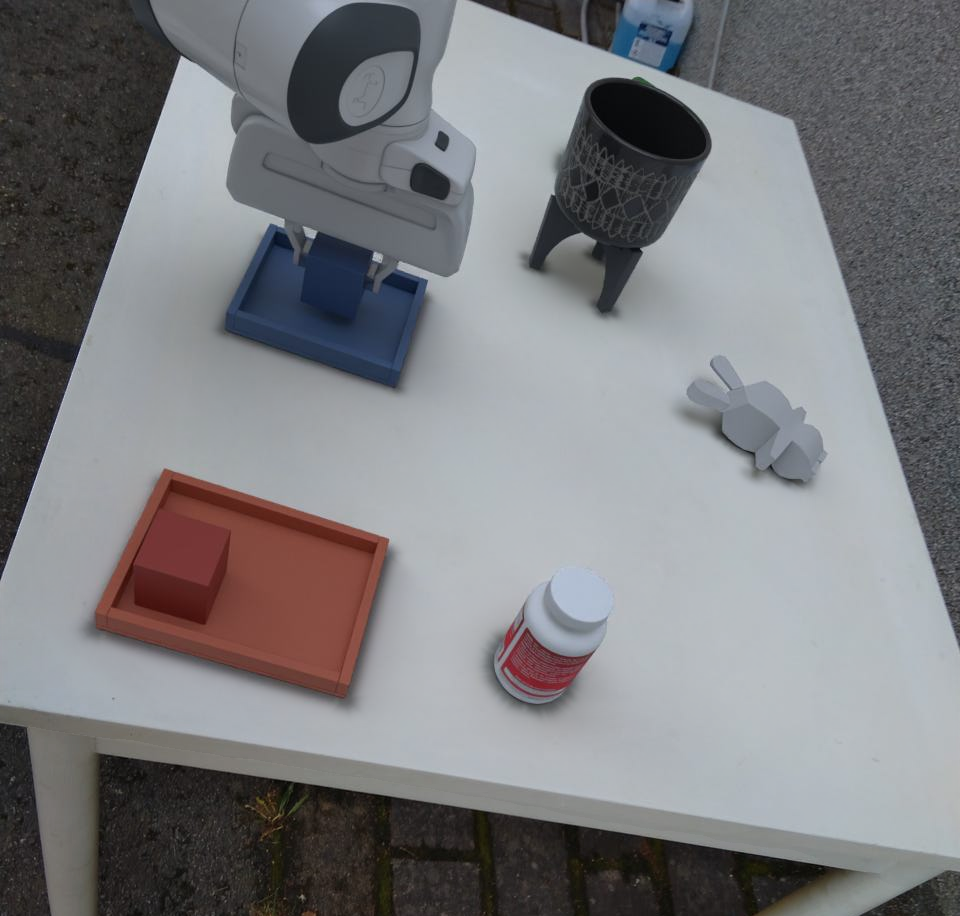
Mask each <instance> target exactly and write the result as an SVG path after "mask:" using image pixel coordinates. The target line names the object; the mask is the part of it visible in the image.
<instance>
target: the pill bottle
mask: <svg viewBox="0 0 960 916" xmlns="http://www.w3.org/2000/svg"><path fill="white" fill-rule="evenodd" d="M614 606H615V597H614V593H613V589H612V588H611V585H609V583H608V582H607V581H606V579H605V578H604V577H602V576H601V575H600V574H599V573H598V572H595V571H594V570H593V569H590V568H588V567H584V566H580V565H568V566H565V567H562V568H560V569H559V570H557V571H556V572H555V573H554V574H553V575H552V577H551V578H550V580H547V581H544V582H542V583H540V584H538V585H537V586H536V587H535V588H533V590H531V592H530V593H529V595H528V596H527V598H526V599H525V601H524V603H523V604H522V606H521V608H520V610H519V611H518V612H517V614H516V616H515V618H514V620H513V621H512V623H511V624H510V627H509V628H508V629H507V631H506V633H505V635H504V637H503V638H502V639H501V641H500V643H499V645H498V647H497V649H496V651H495V654H494V661H493V664H494V665H493V667H494V671H495V674H496V677H497V679H498V681H499V683H500V684H501V685H502V688H503V689H505V691H507V692H508V693H509V694H510V695H511V696H512V697H514V698H515V699H518V700H520V701H523V702H524V703H529V704H535V705H536V704H537V705H538V704H539V705H540V704H546V703H550V702H552V701H554V700H556V699H558V698H559V697H560V696H562V695H563V694H564V692H565V691H566V690H567V689H568V687H569V686H570V685H571V684H572V682H573V681H574V680H575V679H576V677H577V676H578V675H579V673H580V672H581V671H582V669H583V668H584V667H585V665H586V664H587V663H588V661H589V660H590V659H591V657H593V655H594V654H595V652H596V651H597V650H598V648H599V647H600V646H601V643H603V641H604V639H605V637H606V634H607V630H608V618H609V616H610V615H611V613H612V611H613V610H614Z"/></svg>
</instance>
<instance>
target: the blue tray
mask: <svg viewBox="0 0 960 916" xmlns="http://www.w3.org/2000/svg"><path fill="white" fill-rule="evenodd" d="M306 237H307V240H309V241H312V242H313V241H314V238H312V237H309V236H307V235H306ZM294 249H295V248H293V246H292V244H291V242H290V240H289V238H288V236H287V233H286V231H285V229H284V227H282V226H279V225H277V224H274V223H271V222H270V223H269V224H268V227H267V228H266V231H265V233H264V234H263V236H262V239H261V241H260V243H259V244H258V247H257V249H256V251H255V253H254V255H253V257H252V259H251V261H250V263H249V265H248V267H247V269H246V271H245V273H244V275H243V277H242V278H241V281H240V284H239V285H238V287H237V289H236V291H235V293H234V296H233V297H232V299H231V301H230V303H229V305H228V307H227V309H226V312H225V322H224V324H225V325H224V330H225V331H227V332H230V333H233V334H236V335H239V336H242V337H245V338H248V339H250V340H254V341H257V342H259V343H263V344H265V345H269V346H272V347H275V348H276V349H279V350H283V351H285V352H289V353H291V354H294V355H297V356H301V357H303V358H307V359H310V360H313V361H315V362H318V363H321V364H324V365H327V366H330V367H333V368H336V369H339V370H342V371H345V372H348V373H351V374H354V375H356V376H360V377H362V378H366V379H368V380H370V381H371V380H372V381H374V382H377V383H381V384H383V385H387V386H389V387H392V388H396V387H397V385H398V381H399V378H400V375H401V372H402V368H403V365H404V362H405V358H406V355H407V352H408V349H409V346H410V342H411V339H412V337H413V336H412V335H413V332H414V329H415V326H416V323H417V320H418V317H419V313H420V310H421V307H422V303H423V300H424V297H425V294H426V290H427V287H428V283H429V279H426V278H424V277H420V276H417V275H415V274H412V273H409V272H408V271H407V272H406V271H403V270H401V269H399V268H397V269H396V270H395V271H393V272H392V273H391V274H389V275H388V276H387V277H386V278H384V279H383V280H382V283H381V286H380V289H379V292H378V294H377V293H374V292H371V291H369V290H366V289H365V291H364V294H363V297H362V299H361V302H360V305H359V308H358V310H357V313H356V316H355V318H354V320H352V319H349V318H347V317H344V316H341V315H338V314H335V313H332V312H329V311H327V310H324V309H321V308H318V307H315V306H312V305H309V304H306V303H304V302H301V301H300V297H301V291H302V285H303V278H304V272H305V268H303V267H301V266H298V265H295V264H293V256H294ZM372 263H373V264H376V265H379V264H380V263H381V262H379V261H376V260H373V259H372Z"/></svg>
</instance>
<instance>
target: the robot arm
mask: <svg viewBox="0 0 960 916" xmlns="http://www.w3.org/2000/svg"><path fill="white" fill-rule="evenodd" d="M457 1H458V0H129V4H130V6H131V8H132V11H133V14H134V15H135V17H136V20H137V21H138V23H139V24H140V26H141V27H142V28H143V29H144V31H145V32H146V33H147V34H148V36H150V37H151V38H152V39H153V40H155V41H156V42H158V43H160V44H162V45H163V46H165V47H167V48H168V49H170V50H171V51H172V52H174V53H176V54H178V55H179V56H181V57H183V58H184V59H185V60H187V61H189V62H191V63H193V64H196V65H197V66H198V67H200V68H201V69H202V70H204V72H206V73H207V74H209V75H211V76H212V77H213V78H214V79H216V80H217V81H219V82H220V83H221V84H223V85H224V86H225V87H227V88H228V89H229V90H230V91H232V92H233V93H235V94H234V95H233V97H232V100H231V106H230V107H231V108H230V123H231V128H232V130H233V132H234V133H235V139H234V142H233V145H232V148H231V153H230V157H229V161H228V166H227V171H226V172H227V173H226V180H225V186H226V189H227V191H228V193H229V194H230V196H231V198H232V200H234V201H235V202H236V203H239V204H241V205H244V206H247V207H249V208H253V209H255V210H258V211H261V212H263V213H267V214H270V215H271V216H275V217H277V218H280V219H283V220H284V224H283V225H284V226H283V228H284V229H285V231H286V233H287V236H288V238H289V240H290V242H291V244H292V246H293V248H295V249H294V256H293V264H295V265H298V266H301V267H303V268H305V266H306V260H307V254H308V252H309V250H310V247H311V245H312V243H313V242H312V241H309V240H307V237H308V236H307V235H306V232H305V230H304V227H305V228H307V229H311V230H313V231H316V232H318V231H319V232H321V233H324V234H327V235H330V236H332V237H335V238H338V239H341V240H343V241H346V242H349V243H352V244H354V245H357V246H360V247H363V248H366V249H368V250H371V251H374V253H377V254H378V255H379V254H380V255H382V259H381V262H379V263H380V264H379V265H376V264H373V263H370V264H369V267H368V270H367V272H366V276H365V280H364V284H363V289H366V290H369V291H371V292H374V293H377V294H378V292H379V289H380V286H381V283H382V280H383V279H384V278H386V277H387V276H388V275H389V274H391V273H392V272H393V271H395V270H396V269H398V266H399V263H400V262H402V263H404V264H406V265H410V266H412V267H415V268H417V269H421V270H422V271H423V270H424V271H427V272H429V273H432V274H435V275H437V276H439V277H443V278H450V277H451V276H453V275H454V274H457V273H458V272H459V271H460V269H461V266H462V263H463V260H464V255H465V251H466V249H467V248H466V247H467V243H468V238H469V235H470V230H471V225H472V219H473V214H474V213H473V212H474V205H475V204H474V203H475V192H474V186H473V183H472V179H473V176H474V173H475V167H476V162H477V161H476V160H477V147H476V145H475V143H474V142H473V141H472V140H471V139H470V138H469V137H467V136H466V135H465V134H463V132H461V131H460V130H459V129H457V128H456V127H455V126H453V125H452V124H451V123H450V122H448V121H447V120H446V119H444V117H442V116H441V115H440V114H439V113H438V112H437V111H435V110H434V109H433V108H432V106H433V80H434V76H435V73H436V70H437V68H438V67H439V65H440V64H441V62H442V60H443V58H444V56H445V54H446V51H447V46H448V42H449V38H450V34H451V31H452V25H453V21H454V16H455V13H456V12H455V11H456V7H457V3H458V2H457ZM306 236H307V237H306Z"/></svg>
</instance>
